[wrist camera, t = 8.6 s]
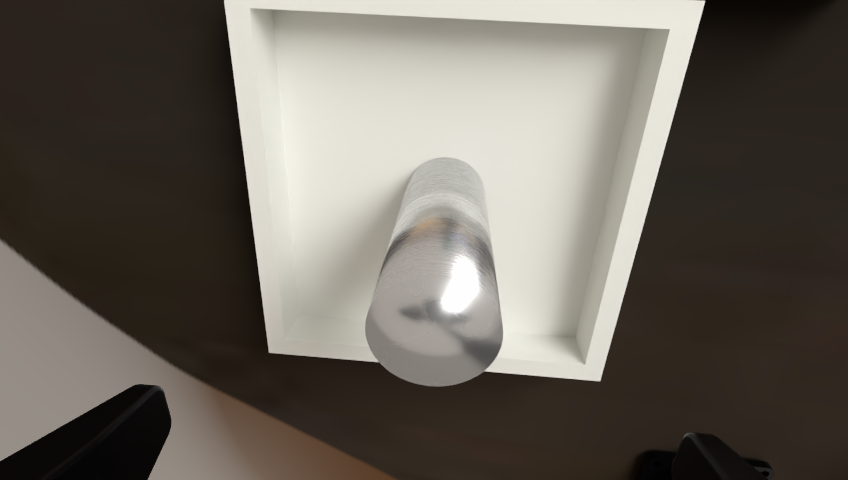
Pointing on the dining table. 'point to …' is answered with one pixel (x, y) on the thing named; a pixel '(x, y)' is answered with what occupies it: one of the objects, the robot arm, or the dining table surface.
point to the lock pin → (438, 281)
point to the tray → (456, 154)
